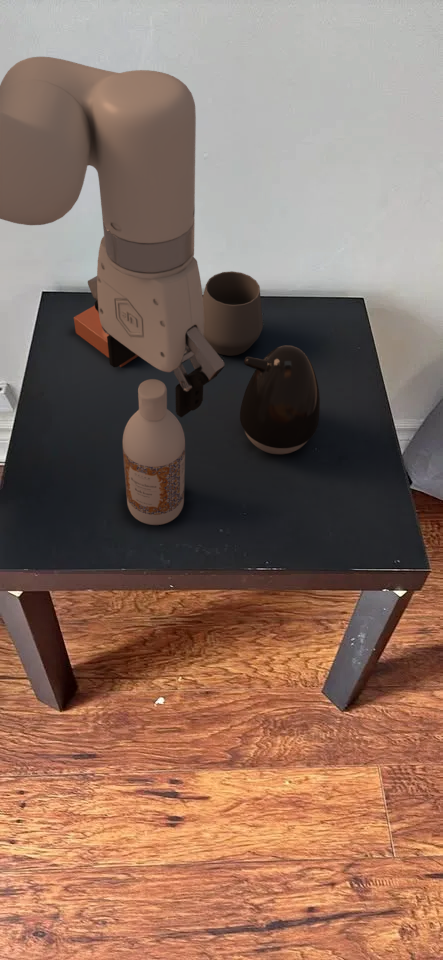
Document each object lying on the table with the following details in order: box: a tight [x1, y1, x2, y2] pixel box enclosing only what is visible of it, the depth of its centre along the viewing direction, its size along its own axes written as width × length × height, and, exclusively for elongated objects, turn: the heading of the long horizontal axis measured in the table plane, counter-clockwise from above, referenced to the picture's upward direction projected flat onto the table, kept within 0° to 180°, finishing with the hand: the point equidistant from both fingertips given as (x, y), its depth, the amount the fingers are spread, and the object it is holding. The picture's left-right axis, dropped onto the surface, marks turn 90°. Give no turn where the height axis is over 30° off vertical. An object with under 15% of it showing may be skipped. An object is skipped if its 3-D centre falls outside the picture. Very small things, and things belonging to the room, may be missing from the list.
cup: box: [202, 270, 264, 357], centre depth 107 cm, size 10×9×10 cm
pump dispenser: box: [239, 344, 321, 455], centre depth 94 cm, size 10×10×15 cm
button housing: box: [73, 305, 139, 368], centre depth 109 cm, size 10×10×5 cm
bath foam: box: [121, 378, 186, 526], centre depth 84 cm, size 7×7×20 cm
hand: (155, 383), depth 76 cm, fingers open, 9 cm apart
